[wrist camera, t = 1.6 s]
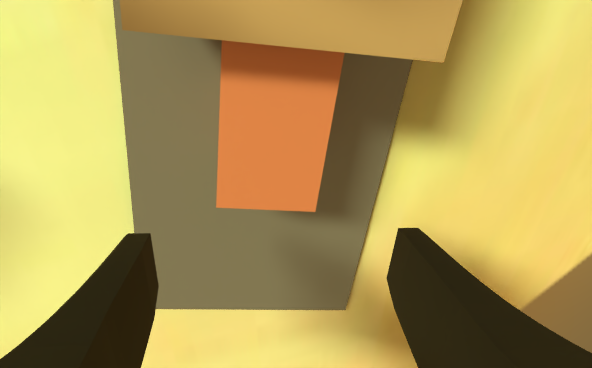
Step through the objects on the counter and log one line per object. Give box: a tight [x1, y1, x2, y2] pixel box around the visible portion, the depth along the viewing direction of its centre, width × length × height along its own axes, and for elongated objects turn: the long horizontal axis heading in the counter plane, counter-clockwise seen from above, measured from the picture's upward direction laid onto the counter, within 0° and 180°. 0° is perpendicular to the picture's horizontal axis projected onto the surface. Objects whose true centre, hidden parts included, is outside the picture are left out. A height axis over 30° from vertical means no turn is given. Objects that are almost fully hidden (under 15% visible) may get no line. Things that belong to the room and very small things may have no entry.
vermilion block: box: [216, 40, 344, 212], centre depth 16 cm, size 11×4×5 cm, turn 173°
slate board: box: [113, 0, 413, 310], centre depth 19 cm, size 31×13×1 cm, turn 173°
